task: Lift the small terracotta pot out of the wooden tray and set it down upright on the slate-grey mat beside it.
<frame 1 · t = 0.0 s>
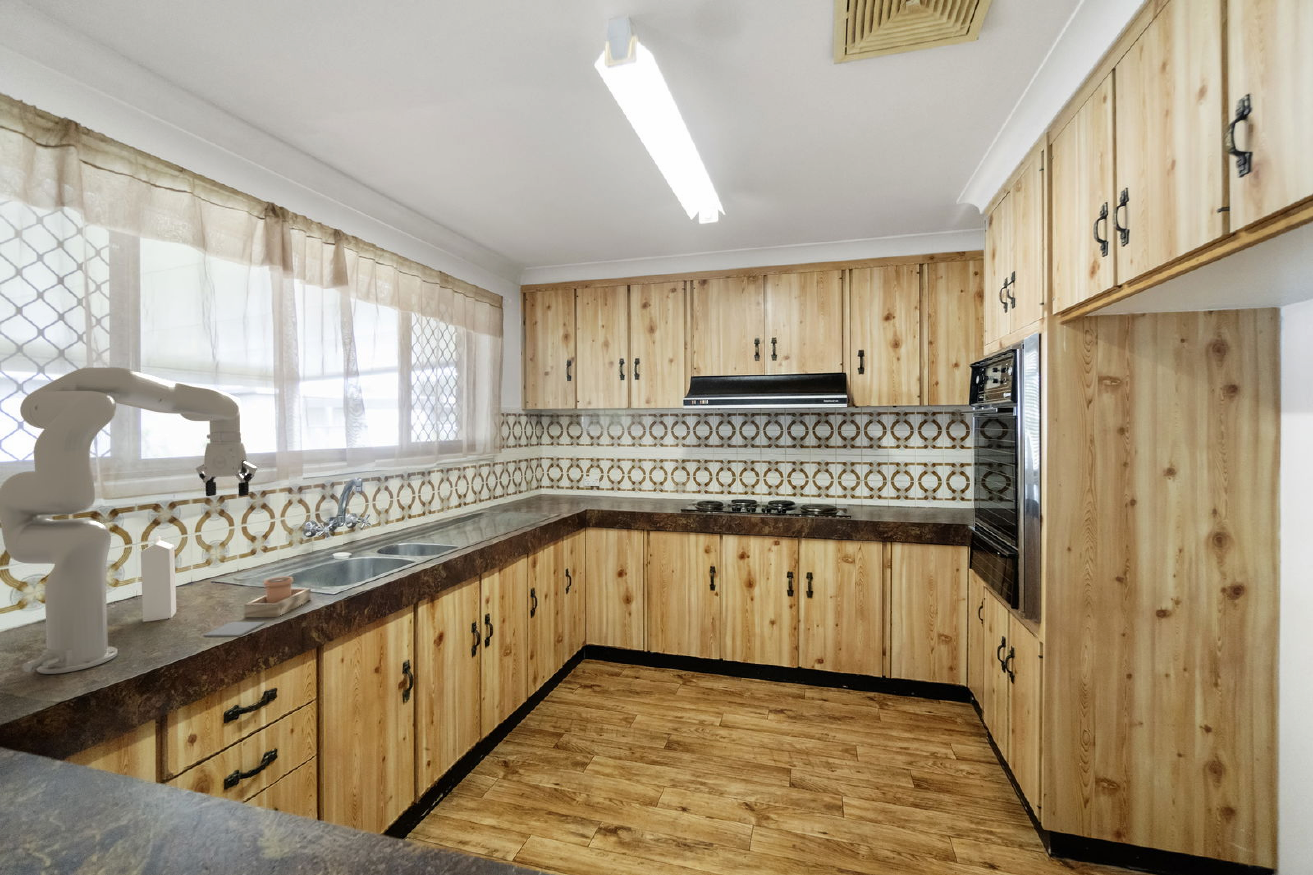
hand: (227, 495, 172), 31 cm above the countertop, tool pointing down, fingers open, 9 cm apart
pot: (278, 594, 165), in the wooden tray
wooden tray: (279, 608, 165), on the countertop
milk: (160, 617, 158), on the countertop
mat: (235, 629, 148), on the countertop
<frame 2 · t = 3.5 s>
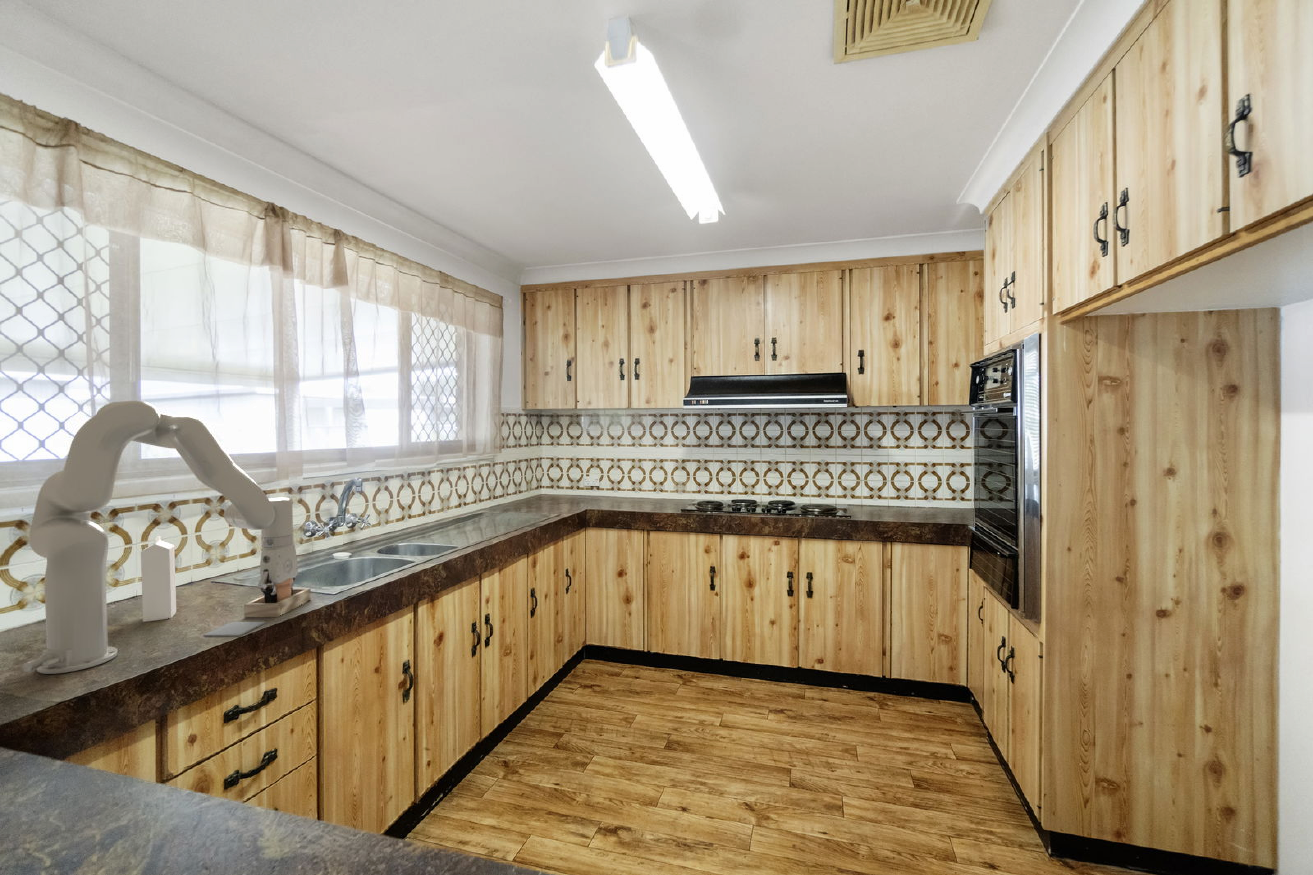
hand: (279, 604, 165), 1 cm above the countertop, tool pointing down, fingers closed on pot, 6 cm apart
pot: (278, 594, 165), in the wooden tray, touching gripper
everything else where it was.
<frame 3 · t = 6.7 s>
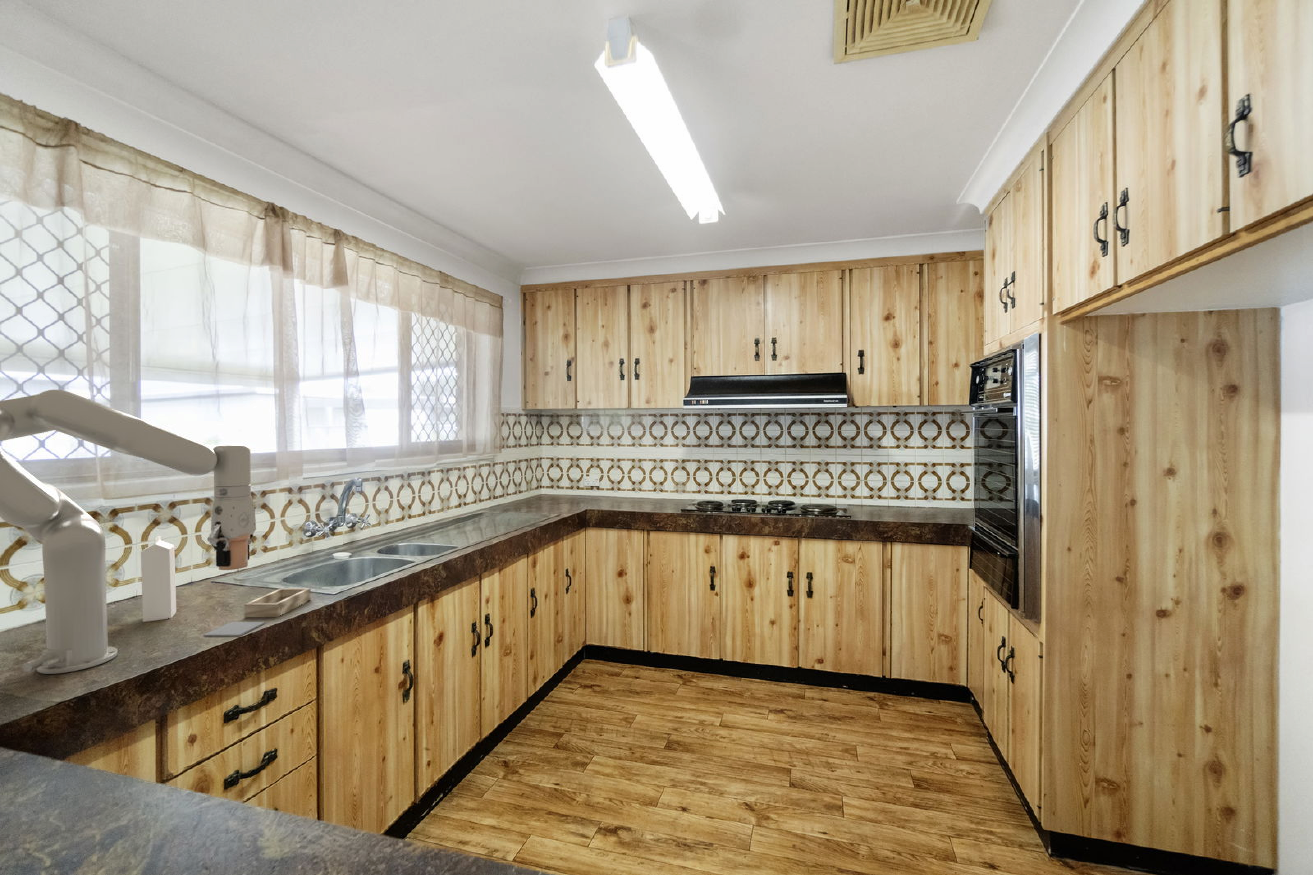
hand: (233, 562, 147), 17 cm above the countertop, tool pointing down, fingers closed on pot, 6 cm apart
pot: (233, 551, 147), point 20 cm above the countertop, touching gripper
everything else where it was.
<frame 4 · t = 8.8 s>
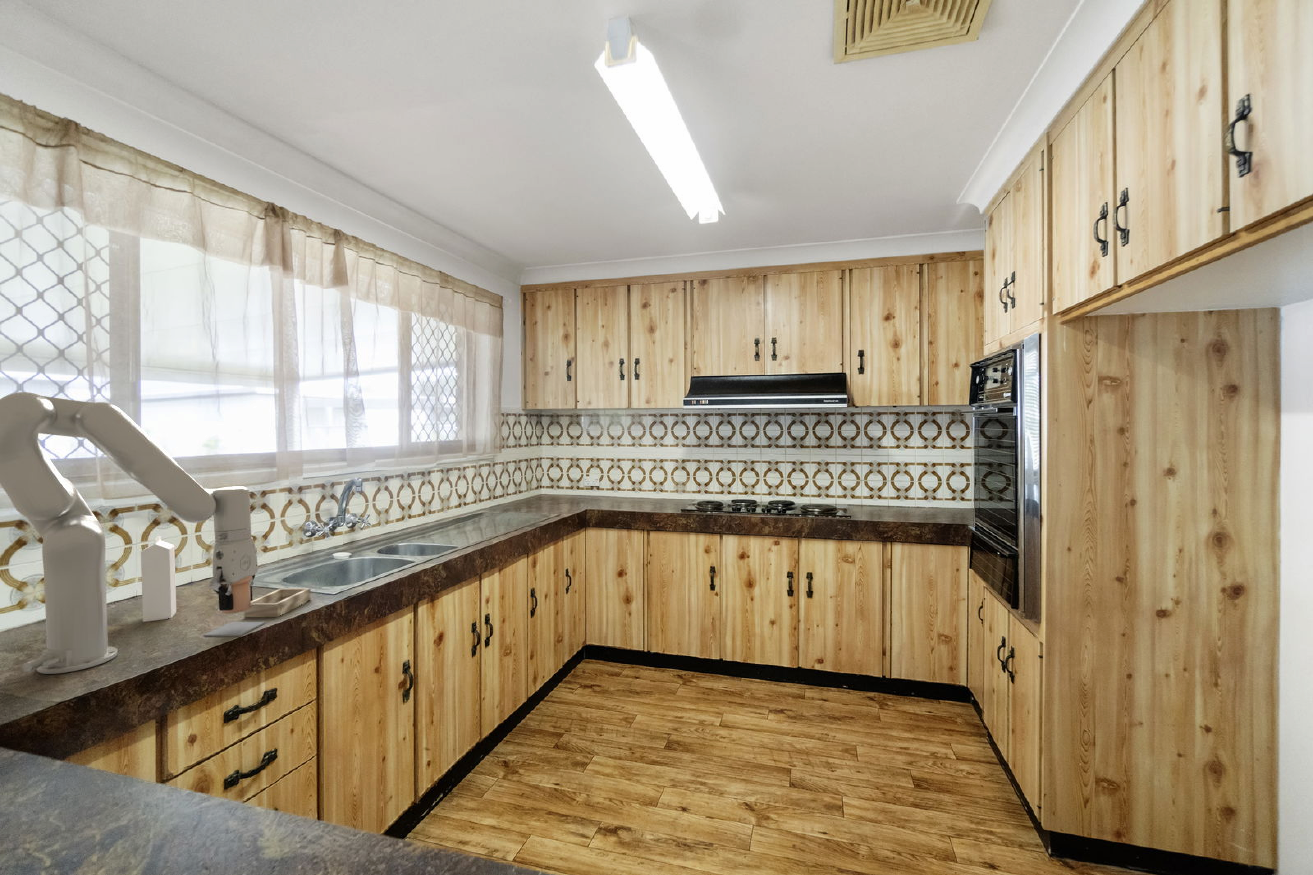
hand: (236, 605, 148), 6 cm above the countertop, tool pointing down, fingers closed on pot, 6 cm apart
pot: (235, 593, 148), point 9 cm above the countertop, touching gripper
everything else where it was.
when the fingers open (3 cm above the countertop, at t = 10.1 s): pot stays where it is, resting on mat.
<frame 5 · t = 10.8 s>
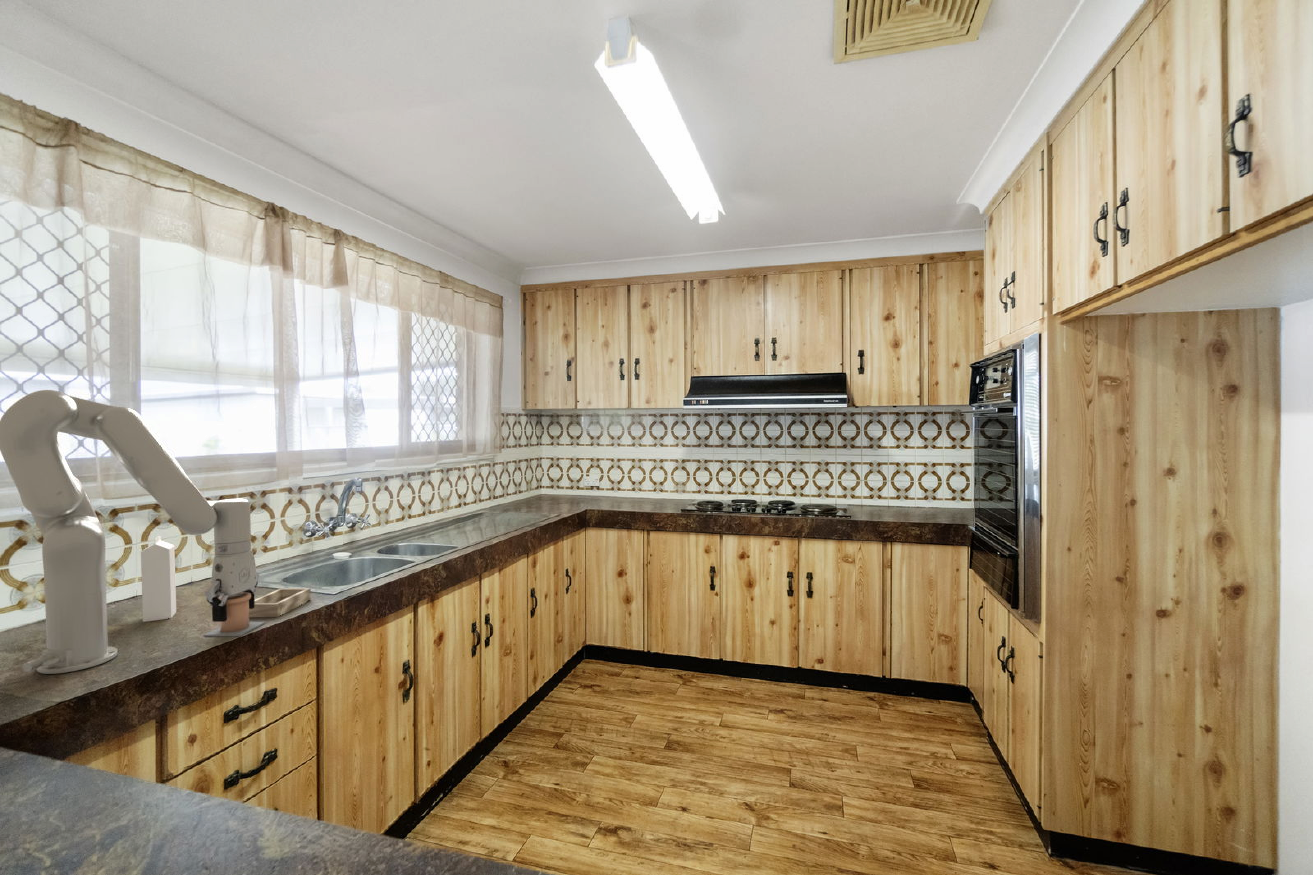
hand: (234, 614, 147), 4 cm above the countertop, tool pointing down, fingers open, 9 cm apart
pot: (234, 612, 147), on the mat
everything else where it was.
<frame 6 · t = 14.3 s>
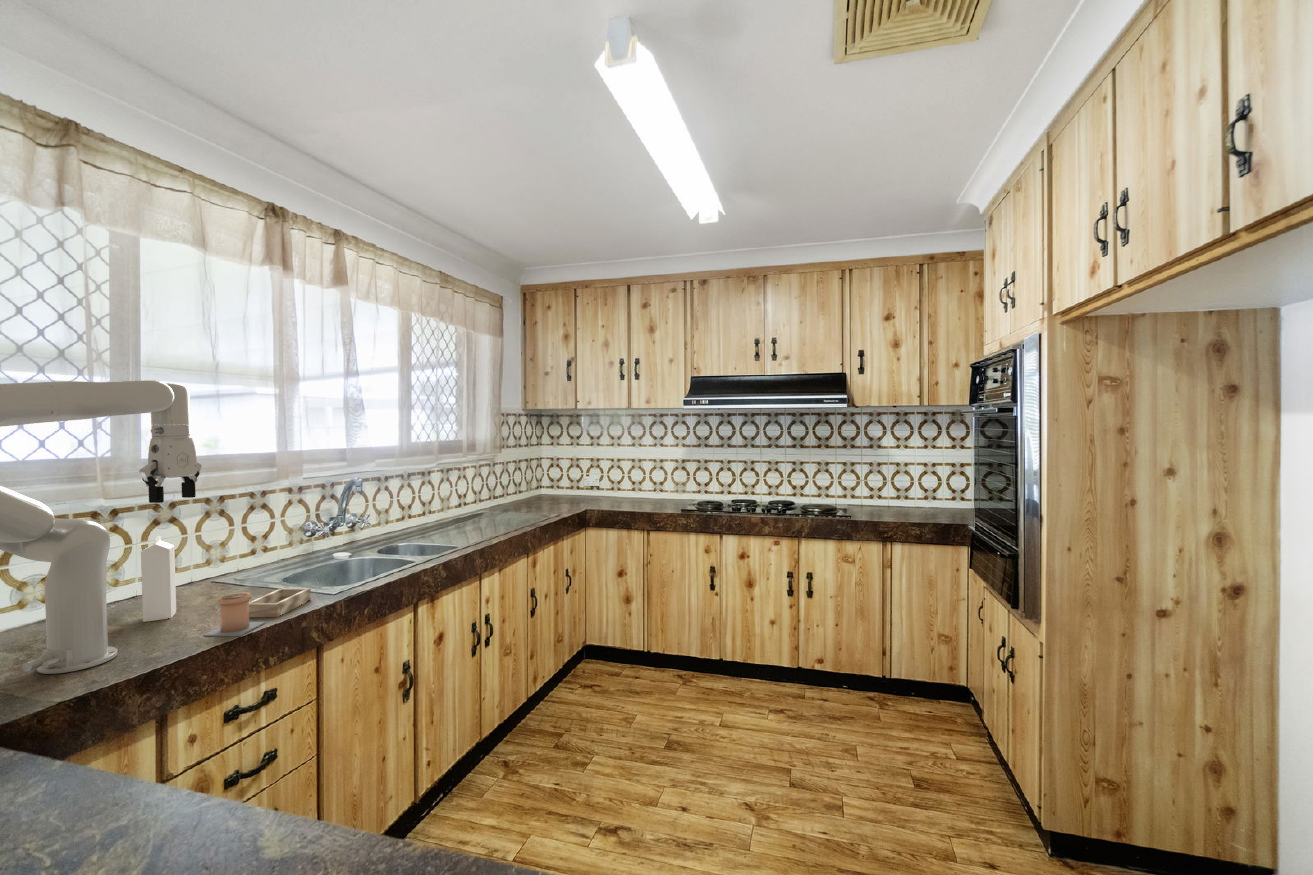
hand: (173, 499, 147), 33 cm above the countertop, tool pointing down, fingers open, 9 cm apart
nothing on the countertop moved.
at the end: pot inside the target area on the mat (0.1 cm from its centre), point 4.5 cm above the mat's base; pot tilted 0°; the gripper is holding nothing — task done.
